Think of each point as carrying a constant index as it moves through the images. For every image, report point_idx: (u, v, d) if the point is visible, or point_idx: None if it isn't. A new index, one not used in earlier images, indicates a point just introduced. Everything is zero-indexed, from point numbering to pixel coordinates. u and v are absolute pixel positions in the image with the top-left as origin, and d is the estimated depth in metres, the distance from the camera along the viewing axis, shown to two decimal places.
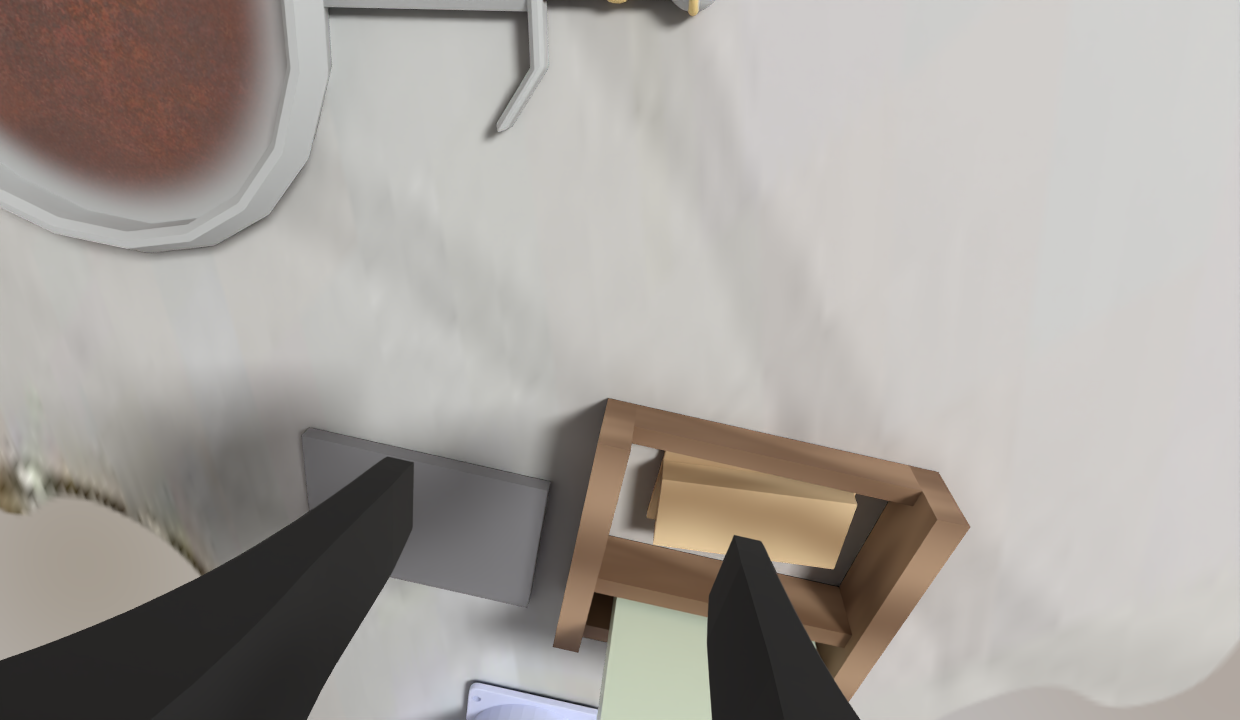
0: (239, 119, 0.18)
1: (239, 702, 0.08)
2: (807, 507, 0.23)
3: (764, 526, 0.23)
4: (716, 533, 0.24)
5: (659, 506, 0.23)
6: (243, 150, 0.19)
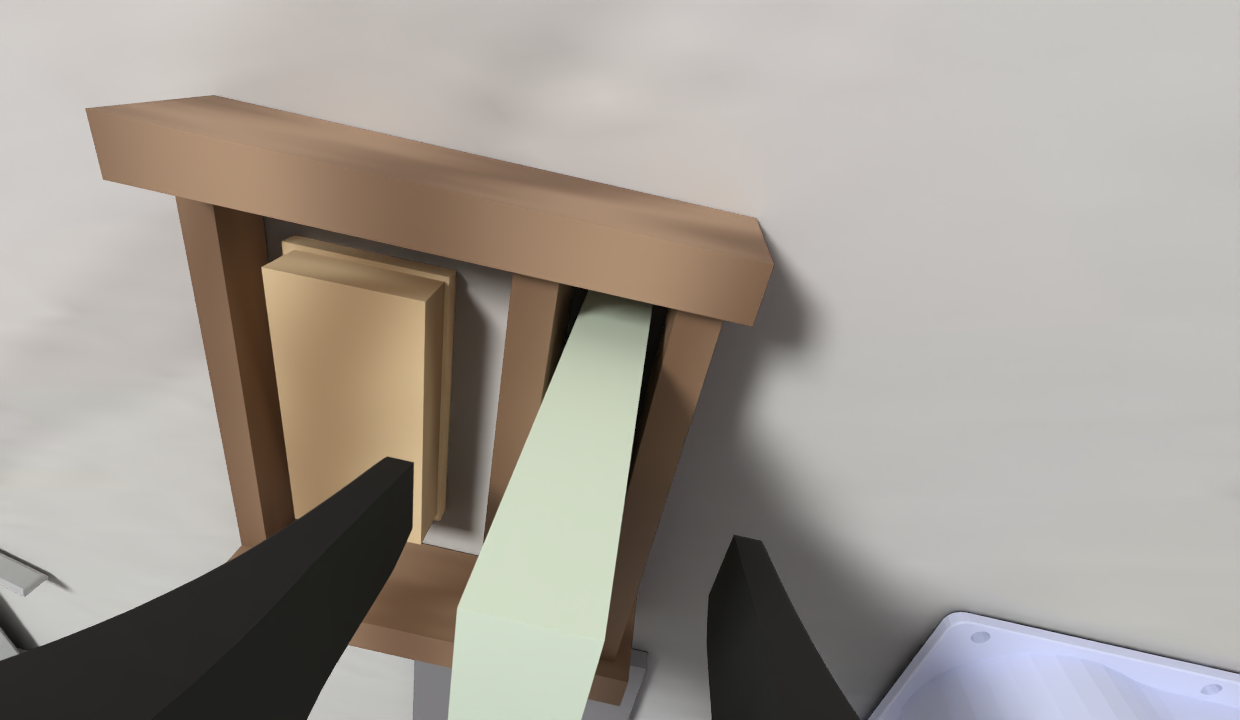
0: None
1: (238, 702, 0.08)
2: (291, 344, 0.13)
3: (348, 405, 0.14)
4: None
5: None
6: None
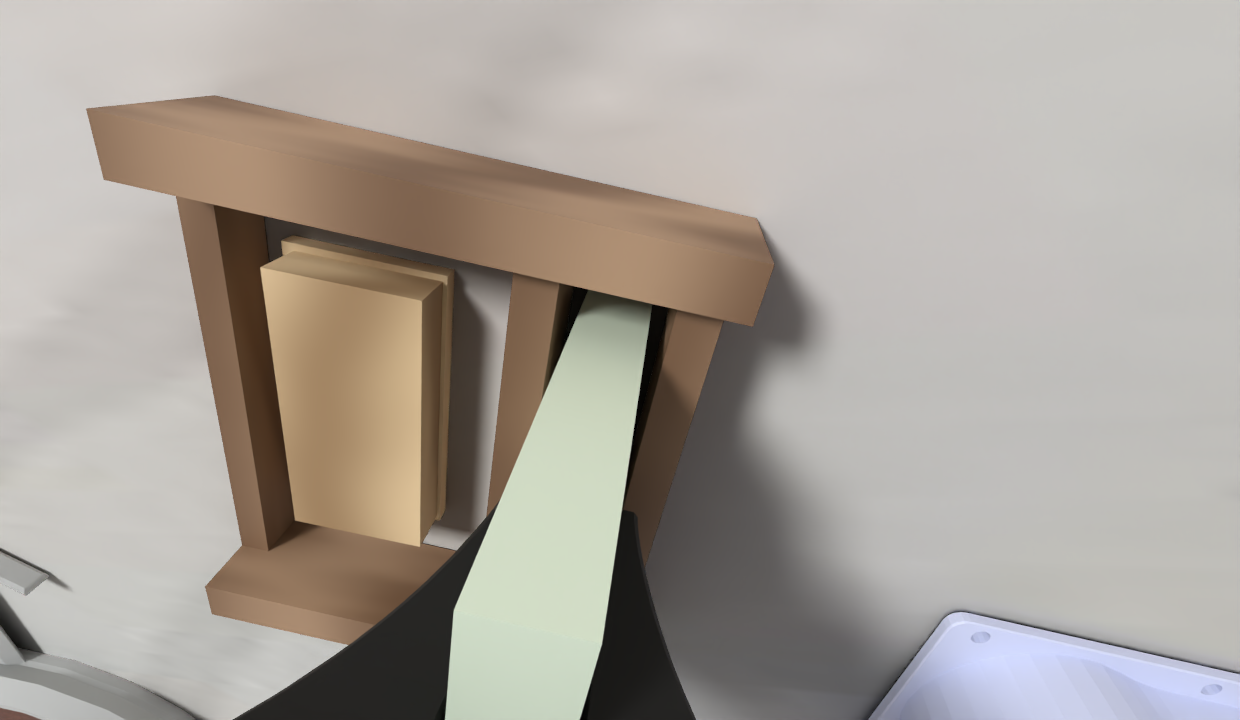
0: None
1: None
2: (289, 344, 0.13)
3: (346, 406, 0.14)
4: (378, 469, 0.15)
5: (346, 529, 0.16)
6: None
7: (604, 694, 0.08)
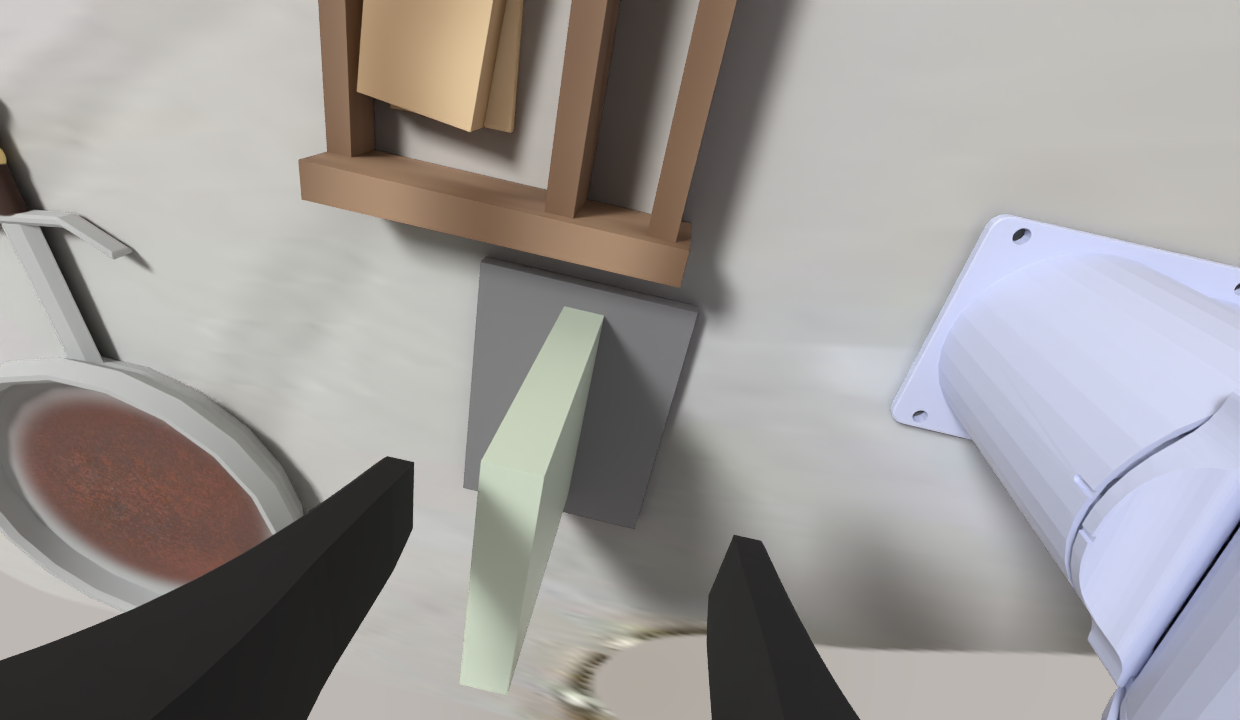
0: None
1: (239, 702, 0.08)
2: None
3: None
4: (448, 28, 0.16)
5: (404, 106, 0.17)
6: None
7: None
